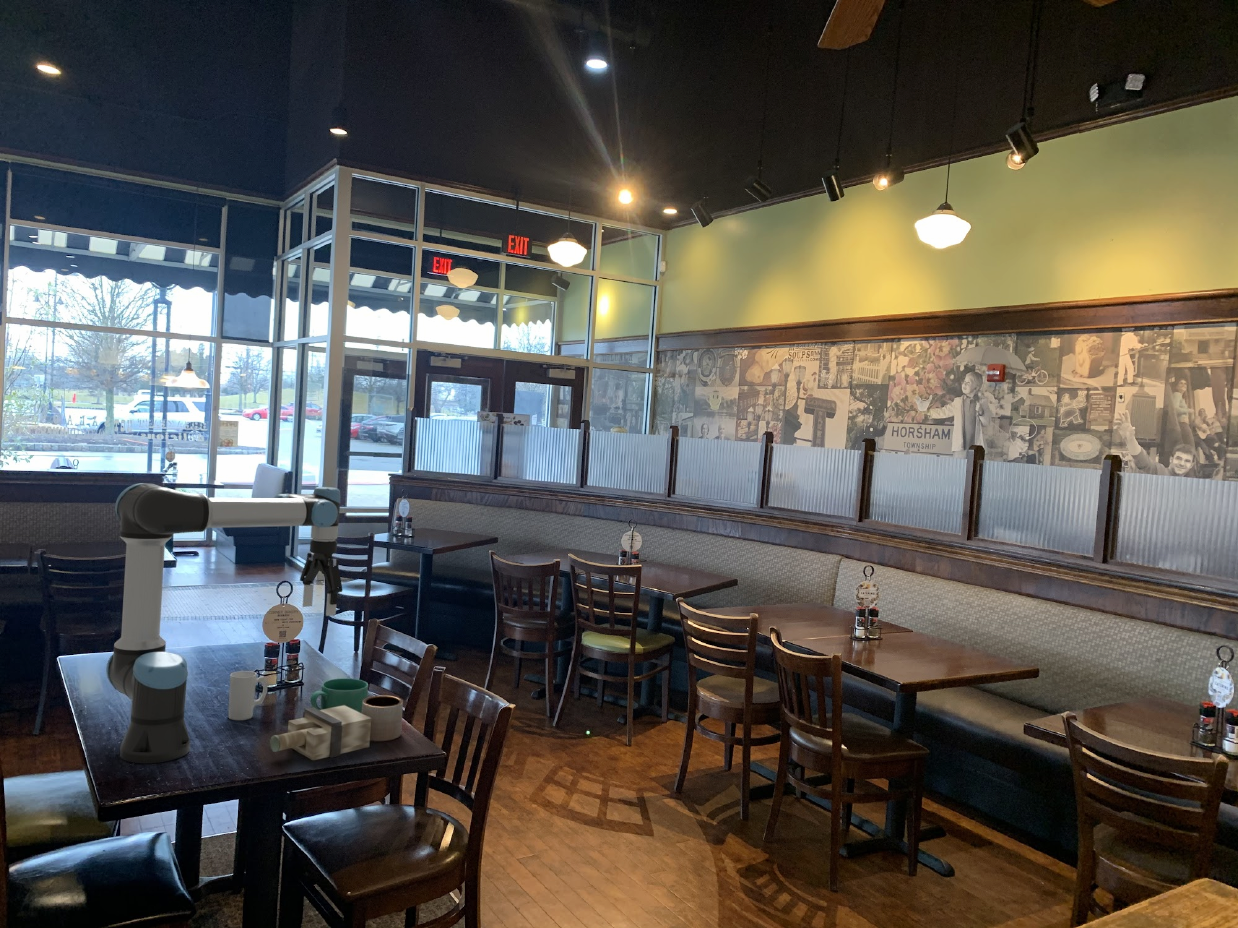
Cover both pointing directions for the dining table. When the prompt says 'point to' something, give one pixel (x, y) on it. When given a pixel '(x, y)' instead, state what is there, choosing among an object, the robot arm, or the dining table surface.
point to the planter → (383, 717)
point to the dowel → (289, 739)
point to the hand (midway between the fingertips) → (318, 610)
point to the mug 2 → (341, 694)
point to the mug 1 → (244, 694)
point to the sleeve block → (332, 731)
